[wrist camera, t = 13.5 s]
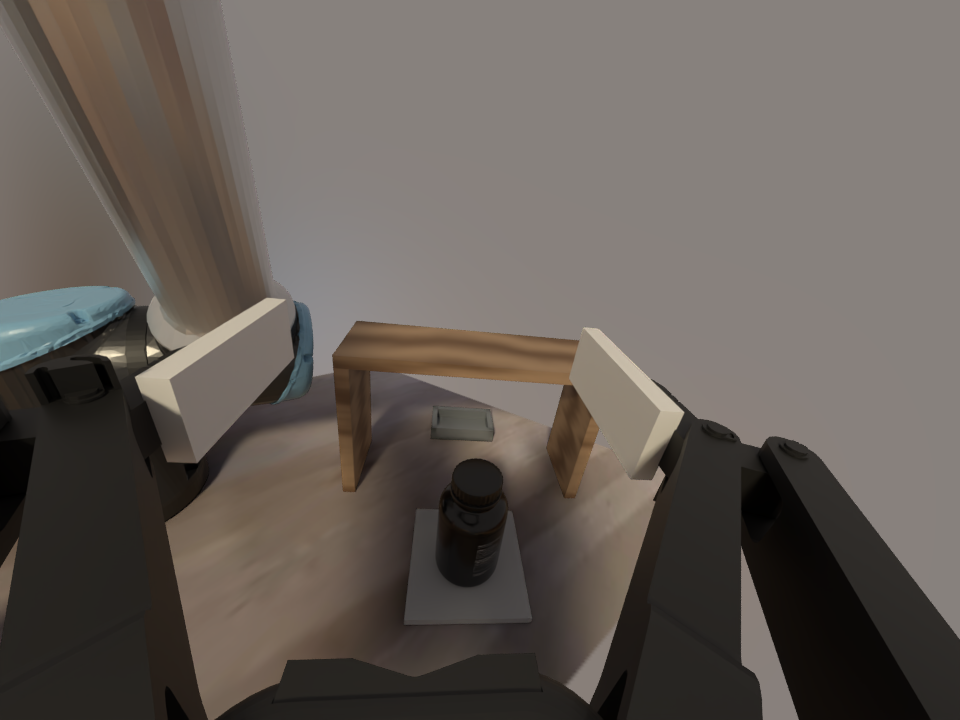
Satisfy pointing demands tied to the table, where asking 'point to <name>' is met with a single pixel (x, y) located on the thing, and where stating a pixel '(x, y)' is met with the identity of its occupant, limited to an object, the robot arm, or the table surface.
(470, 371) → the bridge
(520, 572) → the coaster
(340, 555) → the table surface
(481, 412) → the trap tray
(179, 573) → the table surface
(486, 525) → the supplement bottle
